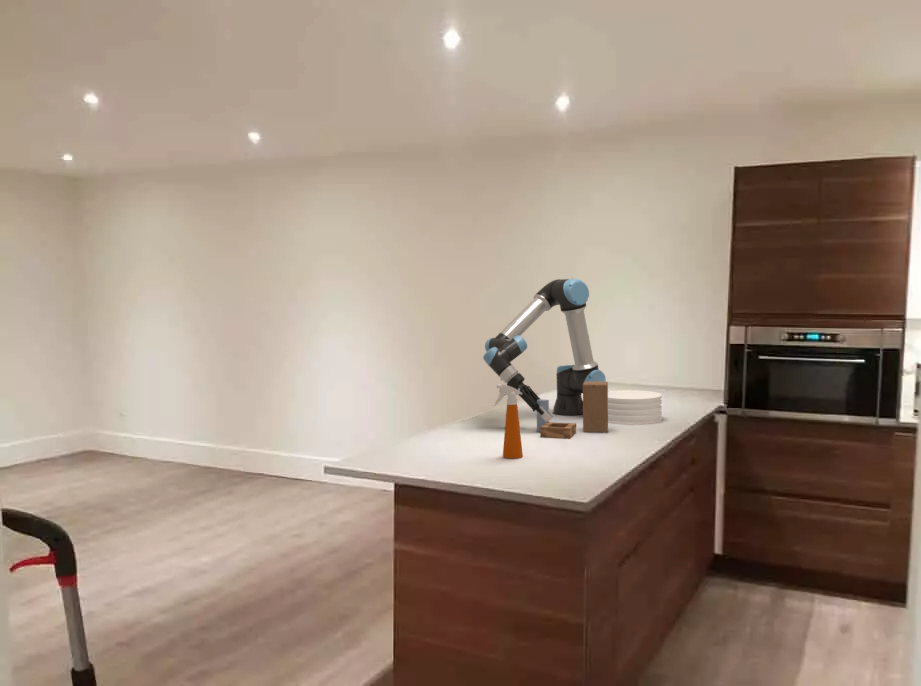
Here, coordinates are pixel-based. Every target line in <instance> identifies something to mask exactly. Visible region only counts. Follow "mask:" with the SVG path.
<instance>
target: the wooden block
mask: <svg viewBox="0 0 921 686" xmlns="http://www.w3.org/2000/svg"><path fill="white" fill-rule="evenodd" d="M608 386H609V384H608V381H606V382H595V381H585V382H584V383H583V393H582V400H583V414H582V426H583V427H582V431H583V433H603V432H605V433H608V431H609V423H608V391H609V390H608V389H609V387H608Z"/></svg>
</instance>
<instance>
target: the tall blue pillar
mask: <svg viewBox="0 0 921 686" xmlns="http://www.w3.org/2000/svg"><path fill="white" fill-rule="evenodd" d="M549 401H550V400H549V399H542V398H540V399H539V400H537V404H538V405H539V407H540V406H541V407H542V408H543V409H544V410H545V411H546V412H547V413H548V415H549V411H550V410H549V409H550V408H549V405H550V403H549ZM547 422H550V420H548V421H547ZM547 422H546V421H545V420H544V419H543V418H542V417H541V416H540V415H539V414H538V413H537V412H536V432H540V427H541V426H543V425H544V424H546V423H547Z"/></svg>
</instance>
